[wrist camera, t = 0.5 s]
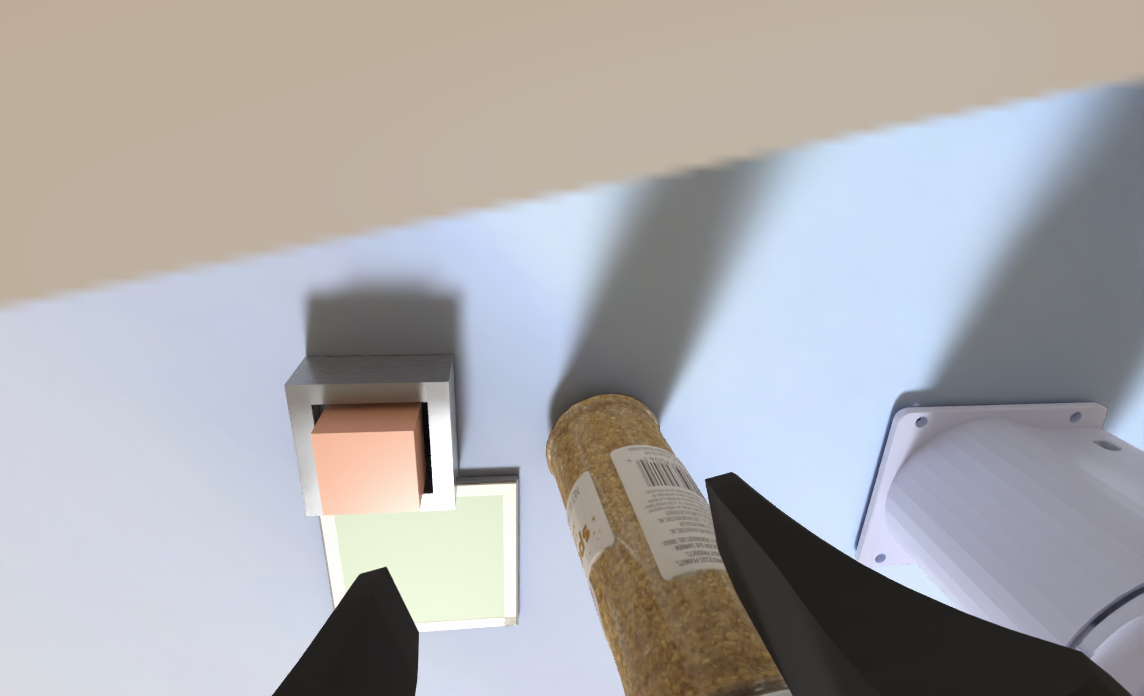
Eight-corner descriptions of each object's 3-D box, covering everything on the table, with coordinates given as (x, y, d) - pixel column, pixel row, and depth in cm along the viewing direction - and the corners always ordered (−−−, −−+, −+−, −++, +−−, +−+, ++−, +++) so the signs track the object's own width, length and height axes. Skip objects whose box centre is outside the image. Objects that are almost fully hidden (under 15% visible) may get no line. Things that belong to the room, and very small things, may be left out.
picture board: (518, 475, 23) (518, 481, 23) (518, 618, 26) (518, 626, 26) (316, 482, 22) (313, 489, 22) (339, 631, 25) (337, 639, 25)
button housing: (453, 354, 21) (448, 382, 19) (458, 473, 23) (454, 509, 21) (305, 357, 20) (284, 385, 18) (324, 478, 22) (306, 516, 20)
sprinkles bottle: (519, 447, 22) (631, 908, 10) (608, 366, 21) (838, 765, 10) (597, 503, 24) (761, 935, 13) (680, 431, 23) (938, 820, 12)
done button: (421, 400, 20) (413, 431, 18) (426, 475, 21) (419, 511, 19) (328, 402, 19) (310, 433, 18) (338, 478, 21) (323, 515, 19)
